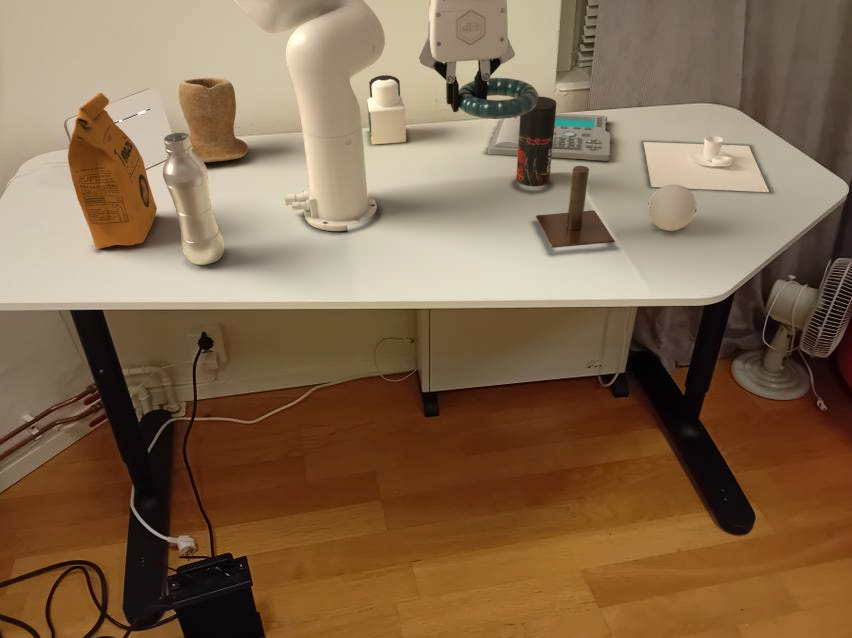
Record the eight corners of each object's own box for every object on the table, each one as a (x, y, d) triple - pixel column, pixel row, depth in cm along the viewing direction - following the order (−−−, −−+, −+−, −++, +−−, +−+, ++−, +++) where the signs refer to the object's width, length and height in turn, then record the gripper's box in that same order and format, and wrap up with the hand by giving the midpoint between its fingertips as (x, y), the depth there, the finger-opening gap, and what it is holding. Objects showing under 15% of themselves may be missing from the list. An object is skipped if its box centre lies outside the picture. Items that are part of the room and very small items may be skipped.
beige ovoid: (697, 238, 116) (707, 196, 112) (649, 239, 117) (658, 197, 112) (681, 209, 124) (690, 168, 120) (637, 209, 125) (644, 169, 120)
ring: (463, 124, 99) (463, 106, 97) (450, 95, 107) (450, 78, 106) (546, 118, 99) (547, 100, 98) (526, 89, 108) (527, 73, 107)
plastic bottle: (189, 273, 113) (156, 150, 100) (182, 253, 118) (149, 133, 105) (231, 263, 115) (203, 141, 102) (222, 244, 120) (194, 125, 107)
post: (551, 254, 114) (557, 186, 107) (535, 223, 122) (540, 158, 115) (613, 248, 115) (624, 180, 108) (593, 218, 123) (602, 152, 115)
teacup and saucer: (736, 171, 134) (741, 150, 132) (691, 169, 136) (695, 148, 133) (728, 152, 141) (733, 131, 139) (685, 150, 142) (690, 130, 140)
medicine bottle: (369, 131, 155) (365, 73, 147) (402, 129, 155) (400, 71, 147) (371, 145, 149) (367, 85, 141) (406, 142, 149) (404, 83, 142)
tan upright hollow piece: (249, 141, 152) (236, 67, 143) (248, 165, 143) (234, 88, 134) (175, 148, 151) (156, 74, 141) (169, 172, 142) (149, 95, 132)
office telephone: (487, 142, 142) (502, 105, 157) (487, 155, 144) (501, 116, 159) (610, 148, 138) (613, 109, 153) (608, 161, 139) (611, 121, 154)
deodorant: (547, 193, 130) (555, 109, 121) (514, 191, 131) (519, 108, 122) (549, 178, 135) (557, 97, 125) (517, 176, 136) (522, 95, 126)
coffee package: (168, 214, 128) (134, 88, 114) (146, 251, 119) (106, 118, 105) (113, 215, 129) (72, 89, 115) (86, 251, 119) (38, 119, 105)
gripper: (406, -28, 88) (412, 122, 100) (538, -36, 89) (529, 113, 101) (400, -40, 94) (406, 102, 105) (524, -48, 95) (517, 94, 106)
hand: (466, 106), depth 103 cm, fingers closed on ring, 2 cm apart
